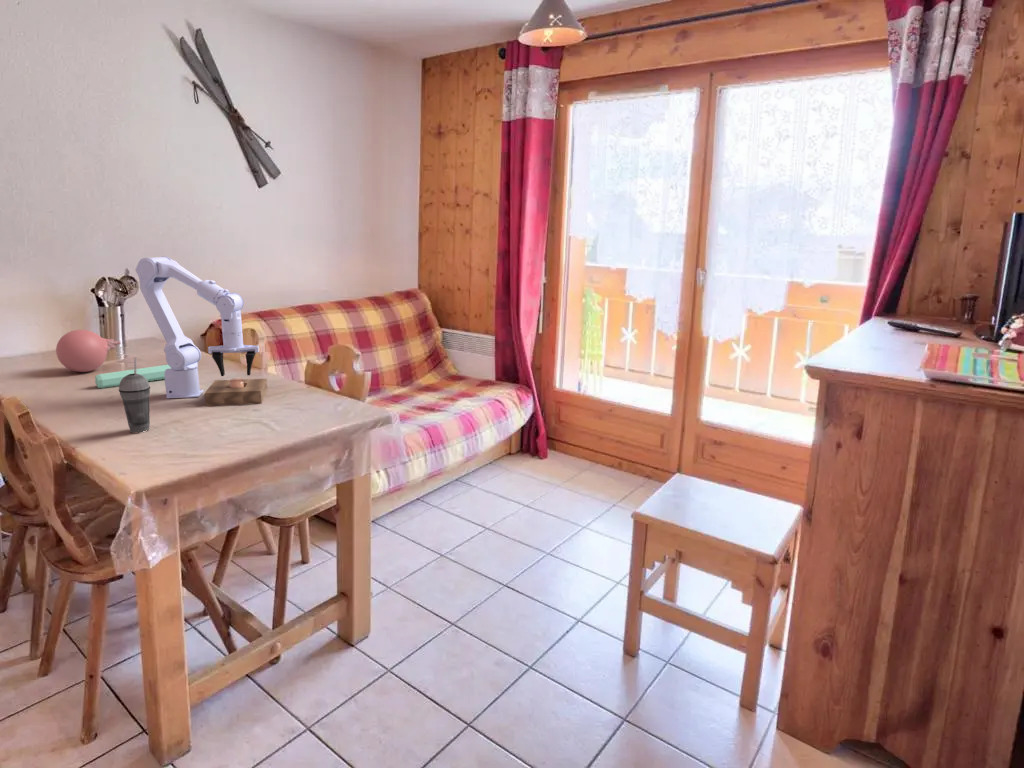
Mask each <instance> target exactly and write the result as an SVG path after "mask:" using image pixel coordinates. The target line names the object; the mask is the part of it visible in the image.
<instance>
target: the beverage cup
mask: <svg viewBox="0 0 1024 768" xmlns="http://www.w3.org/2000/svg"><path fill="white" fill-rule="evenodd" d="M133 359H134V360H133V361H134V362H133V363H134V366H133V367H134V368H133V369H134V374H128V375H126V376H125V377H124V378H123V379H122V380H121V382H120V384H119V386H118V392H119V395H120V398H121V399H122V404H123V408H124V411H125V416H126V420H127V421H126V422H127V425H128V428H129V430H130V431H131V432H143V431H146V430H149V429H150V425H151V424H150V422H151V421H150V420H151V419H150V417H151V416H150V394H151V386H150V384H149V382H148V381H147V379H146V378H145V377H144V376H142V375H140V374H137V369H138V368H137V357H134V358H133ZM130 431H129V432H130ZM149 431H150V430H149ZM131 432H130V433H131ZM146 432H147V431H146ZM143 433H144V432H143Z"/></svg>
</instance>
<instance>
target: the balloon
mask: <svg viewBox="0 0 1024 768" xmlns="http://www.w3.org/2000/svg"><path fill="white" fill-rule="evenodd" d="M121 344H122V343H121V341H119V340H114V339H113V338H105V337H104V338H103V337H101V336H100V335H99V334H97V333H95V332H93V331H91V330H88V329H74V330H71V331H69V332H66V333H65V334H63V335H62V336H61V337H60V339H59V340H58V341H57V344H56V348H55V353H56V356H57V357H56V358H57V360H58V361H59V362H60V363H61V364H62V365H63V367H65V368H67V370H69V371H73V372H77V373H87V372H92V371H94V370H97V369H98V368H99V367H101V366H102V365H103V364H104V362H105V361H106V359H107V356H108V353H109V351H110V350H112V349H115V348H116V346H117V345H121Z"/></svg>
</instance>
